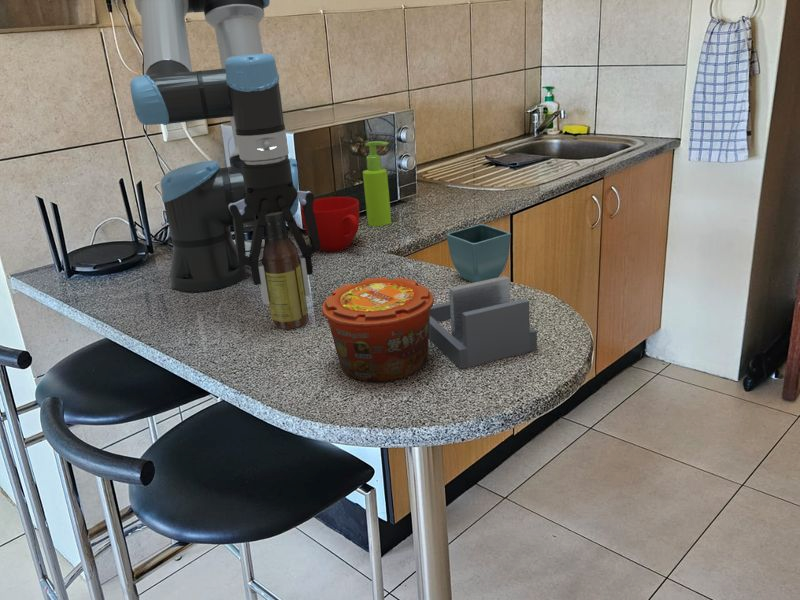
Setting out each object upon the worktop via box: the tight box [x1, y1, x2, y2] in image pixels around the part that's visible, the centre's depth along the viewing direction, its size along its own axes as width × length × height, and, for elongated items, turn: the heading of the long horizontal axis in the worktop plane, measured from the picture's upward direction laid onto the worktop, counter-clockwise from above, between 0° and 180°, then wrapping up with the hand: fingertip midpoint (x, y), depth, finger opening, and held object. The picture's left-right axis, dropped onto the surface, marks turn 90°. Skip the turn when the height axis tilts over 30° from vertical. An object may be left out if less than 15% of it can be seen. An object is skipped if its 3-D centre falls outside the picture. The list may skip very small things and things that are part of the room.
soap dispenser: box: [362, 140, 392, 227], centre depth 168 cm, size 6×7×20 cm
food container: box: [321, 276, 435, 384], centre depth 100 cm, size 16×16×11 cm
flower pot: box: [445, 223, 512, 283], centre depth 129 cm, size 9×9×9 cm
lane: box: [429, 298, 538, 370], centre depth 106 cm, size 18×12×8 cm
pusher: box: [448, 275, 511, 344], centre depth 103 cm, size 1×9×10 cm, turn 111°
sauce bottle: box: [261, 211, 309, 330], centre depth 114 cm, size 6×6×20 cm
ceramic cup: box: [300, 196, 360, 252], centre depth 153 cm, size 13×17×10 cm
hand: (286, 297), depth 116 cm, fingers closed on sauce bottle, 6 cm apart
